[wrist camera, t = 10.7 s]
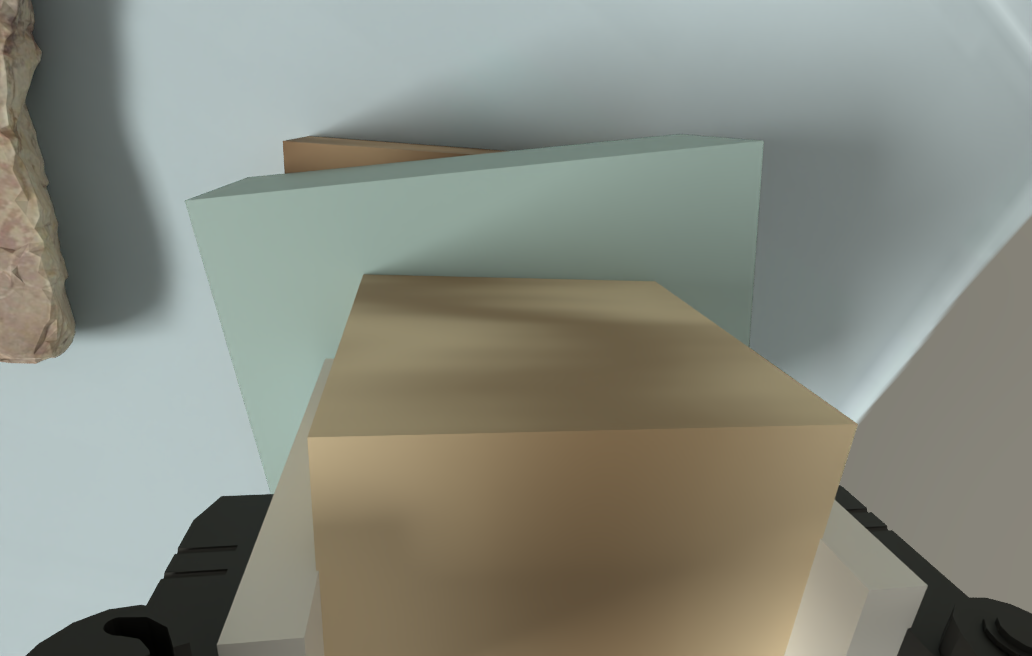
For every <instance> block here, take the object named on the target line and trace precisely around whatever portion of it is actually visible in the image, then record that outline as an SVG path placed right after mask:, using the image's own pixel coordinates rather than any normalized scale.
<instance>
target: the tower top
mask: <svg viewBox="0 0 1032 656" xmlns="http://www.w3.org/2000/svg"><path fill="white" fill-rule="evenodd" d="M763 145H764V141H761V140H748V139H735V138H722V137H709V136H696V135H683V134H676V135H666V136H656V137H646V138H636V139H626V140H616V141H606V142H596V143H586V144H576V145H566V146H556V147H546V148H536V149H526V150H516V151H506V152H496V153H486V154H476V155H466V156H456V157H446V158H436V159H426V160H416V161H406V162H396V163H386V164H376V165H366V166H356V167H346V168H336V169H326V170H316V171H307V172H297V173H287V174H277V175H267V176H257V177H247V178H245V179H242V180H239V181H237V182H234V183H231V184H229V185H226V186H223V187H220V188H218V189H215V190H212V191H210V192H207V193H204V194H201V195H199V196H196V197H193V198H191V199H188V200H185V203H186V206H187V210H188V213H189V217H190V220H191V224H192V227H193V230H194V234H195V237H196V241H197V244H198V247H199V251H200V254H201V258H202V261H203V264H204V268H205V271H206V275H207V278H208V281H209V285H210V288H211V292H212V295H213V298H214V302H215V305H216V309H217V312H218V315H219V319H220V322H221V326H222V329H223V332H224V336H225V339H226V343H227V346H228V349H229V353H230V356H231V360H232V363H233V367H234V370H235V373H236V377H237V380H238V384H239V387H240V390H241V394H242V397H243V401H244V404H245V407H246V411H247V414H248V418H249V421H250V424H251V428H252V431H253V435H254V438H255V441H256V445H257V448H258V452H259V455H260V458H261V462H262V465H263V469H264V472H265V475H266V479H267V482H268V486H269V489H270V492H271V494H274V493H275V490H276V487H277V485H278V482H279V479H280V477H281V474H282V472H283V469H284V466H285V464H286V461H287V458H288V456H289V453H290V450H291V448H292V445H293V442H294V440H295V437H296V435H297V432H298V429H299V427H300V424H301V421H302V419H303V416H304V413H305V411H306V408H307V406H308V403H309V400H310V398H311V395H312V392H313V390H314V387H315V384H316V382H317V379H318V377H319V374H320V371H321V369H322V366H323V363H324V361H325V359H334V358H335V355H336V352H337V349H338V346H339V343H340V341H341V338H342V335H343V332H344V329H345V326H346V323H347V320H348V317H349V314H350V311H351V308H352V306H353V303H354V300H355V297H356V294H357V291H358V288H359V285H360V282H361V279H362V276H363V274H370V275H412V276H454V277H496V278H539V279H581V280H623V281H656V282H657V283H658V284H660V285H661V286H663V287H664V288H666V289H667V290H668V291H670V292H671V293H673V294H674V295H675V296H677V297H678V298H680V299H681V300H683V301H684V302H685V303H687V304H688V305H690V306H691V307H692V308H694V309H695V310H697V311H698V312H700V313H701V314H702V315H704V316H705V317H707V318H708V319H709V320H711V321H712V322H714V323H715V324H717V325H718V326H719V327H721V328H722V329H724V330H725V331H726V332H728V333H729V334H731V335H732V336H734V337H735V338H736V339H738V340H739V341H741V342H742V343H743V344H745V345H746V346H748V347H749V341H750V327H751V313H752V299H753V285H754V271H755V257H756V243H757V229H758V215H759V201H760V187H761V173H762V159H763Z"/></svg>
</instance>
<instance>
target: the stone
mask: <svg viewBox="0 0 1032 656" xmlns="http://www.w3.org/2000/svg"><path fill="white" fill-rule="evenodd" d="M34 23H35V19H34V10H33V5H32V3H31V0H0V362H8V363H34V364H36V363H38V362H40V361H43V360H45V359H48V358H56V357H58V356H60V355H61V354H62V353H64V352H65V351H66V350H67V348H68V347H69V346H70V344H71V343H72V341H73V338H74V335H75V321H74V317H73V314H72V311H71V307H70V304H69V301H68V297H67V294H66V290H65V284H64V283H65V280H66V279H67V278H68V277H69V276H68V273H67V270H66V266H65V261H64V259H63V257H62V255H61V252H60V241H59V239H58V234H57V230H58V221H57V218H56V216H55V212H54V208H53V205H52V202H51V199H50V196H49V193H48V191H47V188H46V187H47V185H48V184H49V181H48V179H47V176H46V174H45V171H44V160H43V157H42V155H41V151H40V148H39V145H38V142H37V135H36V131H35V129H34V126H33V124H32V121H31V118H30V115H29V112H28V109H27V107H26V104H25V100H26V95H27V93H28V90H29V87H30V84H31V80H32V77H33V74H34V71H35V69H36V67H37V65H38V64H39V63H40V61H41V54H42V52H41V50H40V49H39V47H38V45H37V44H36V42H35V40H34V37H33V34H32V32H33V29H34V26H33V25H34Z"/></svg>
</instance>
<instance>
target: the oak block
mask: <svg viewBox="0 0 1032 656" xmlns="http://www.w3.org/2000/svg"><path fill="white" fill-rule="evenodd" d="M857 425H858V424H857V423H855V422H854V421H853V420H851V419H850V418H848V417H847V416H845V415H844V414H843V413H841V412H840V411H838V410H837V409H836V408H834V407H833V406H831V405H830V404H828V403H827V402H826V401H824V400H823V399H821V398H820V397H819V396H817V395H816V394H814V393H813V392H811V391H810V390H809V389H807V388H806V387H804V386H803V385H802V384H800V383H799V382H797V381H796V380H794V379H793V378H792V377H790V376H789V375H787V374H786V373H785V372H783V371H782V370H780V369H779V368H777V367H776V366H775V365H773V364H772V363H770V362H769V361H768V360H766V359H765V358H763V357H762V356H760V355H759V354H758V353H756V352H755V351H753V350H752V349H751V348H749V347H748V346H746V345H745V344H743V343H742V342H741V341H739V340H738V339H736V338H735V337H734V336H732V335H731V334H729V333H728V332H726V331H725V330H724V329H722V328H721V327H719V326H718V325H717V324H715V323H714V322H712V321H711V320H709V319H708V318H707V317H705V316H704V315H702V314H701V313H700V312H698V311H697V310H695V309H694V308H692V307H691V306H690V305H688V304H687V303H685V302H684V301H683V300H681V299H680V298H678V297H677V296H675V295H674V294H673V293H671V292H670V291H668V290H667V289H666V288H664V287H663V286H661V285H660V284H658V283H657V282H656V281H623V280H581V279H539V278H496V277H454V276H412V275H370V274H363V276H362V279H361V282H360V285H359V288H358V291H357V294H356V297H355V300H354V303H353V306H352V308H351V311H350V314H349V317H348V320H347V323H346V326H345V329H344V332H343V335H342V338H341V341H340V343H339V346H338V349H337V352H336V355H335V358H334V361H333V364H332V367H331V370H330V373H329V375H328V378H327V381H326V384H325V387H324V390H323V393H322V396H321V399H320V402H319V405H318V408H317V410H316V413H315V416H314V419H313V422H312V425H311V428H310V431H309V434H308V437H307V441H308V456H309V471H310V486H311V501H312V516H313V531H314V546H315V561H316V571H319V581H320V597H321V612H322V627H323V642H324V656H784V655H785V651H786V648H787V645H788V642H789V638H790V635H791V632H792V629H793V625H794V622H795V619H796V616H797V612H798V609H799V606H800V603H801V599H802V596H803V593H804V590H805V587H806V583H807V580H808V577H809V574H810V570H811V567H812V564H813V561H814V557H815V554H816V551H817V548H818V544H819V541H820V539H822V538H823V535H824V532H825V528H826V525H827V522H828V519H829V515H830V512H831V509H832V506H833V503H834V499H835V496H836V493H837V490H838V487H839V483H840V480H841V477H842V473H843V470H844V467H845V464H846V461H847V457H848V454H849V451H850V448H851V445H852V441H853V438H854V435H855V432H856V429H857Z"/></svg>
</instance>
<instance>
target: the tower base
mask: <svg viewBox="0 0 1032 656" xmlns="http://www.w3.org/2000/svg"><path fill="white" fill-rule="evenodd" d="M283 152H284V169H285V174H287V173H297V172H307V171H316V170H326V169H336V168H346V167H356V166H366V165H376V164H386V163H396V162H406V161H416V160H426V159H436V158H446V157H456V156H466V155H476V154H486V153H496V152H506V151H503V150H490V149H476V148H463V147H449V146H435V145H422V144H408V143H395V142H381V141H368V140H354V139H341V138H327V137H313V136H307V137H302V138H297V139H291V140H286V141H283Z"/></svg>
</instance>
